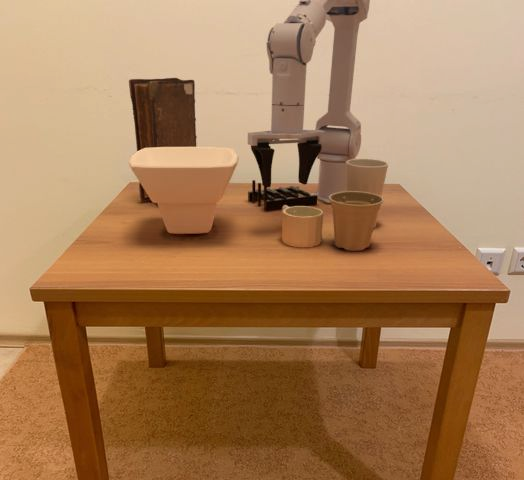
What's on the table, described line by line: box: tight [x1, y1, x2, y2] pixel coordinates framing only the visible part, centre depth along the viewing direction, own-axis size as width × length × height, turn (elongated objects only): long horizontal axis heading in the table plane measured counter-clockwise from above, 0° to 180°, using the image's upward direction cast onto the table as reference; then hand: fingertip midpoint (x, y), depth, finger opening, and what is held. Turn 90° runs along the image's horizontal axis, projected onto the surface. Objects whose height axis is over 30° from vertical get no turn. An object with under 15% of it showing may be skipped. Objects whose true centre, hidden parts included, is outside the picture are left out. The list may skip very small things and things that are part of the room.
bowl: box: [128, 146, 239, 235], centre depth 96 cm, size 19×19×14 cm
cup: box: [346, 158, 389, 228], centre depth 101 cm, size 8×8×12 cm
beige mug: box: [281, 205, 324, 248], centre depth 95 cm, size 11×7×6 cm, turn 26°
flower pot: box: [329, 191, 385, 252], centre depth 91 cm, size 9×9×9 cm
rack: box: [247, 179, 318, 212], centre depth 116 cm, size 13×10×5 cm
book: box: [128, 77, 197, 203], centre depth 114 cm, size 17×7×25 cm, turn 144°
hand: (284, 184), depth 96 cm, fingers open, 7 cm apart
